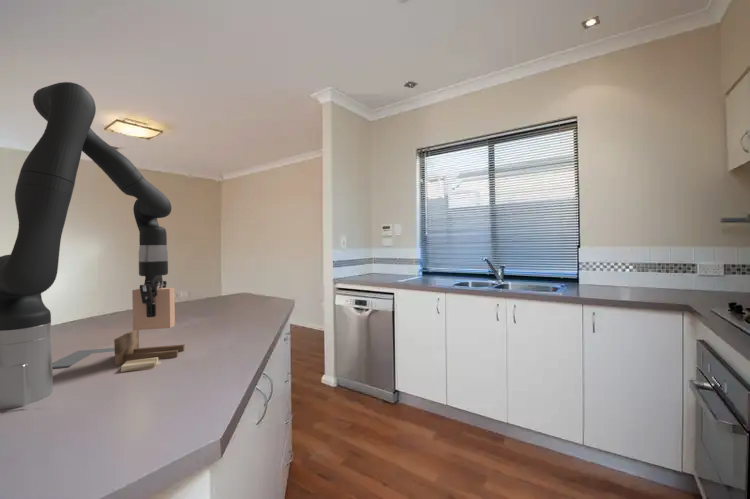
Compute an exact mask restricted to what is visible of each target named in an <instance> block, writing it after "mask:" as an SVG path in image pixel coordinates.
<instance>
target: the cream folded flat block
mask: <svg viewBox="0 0 750 499" xmlns="http://www.w3.org/2000/svg"><path fill="white" fill-rule="evenodd" d="M161 363H162V362H161V361H158V363H157V365H156V366H155V368H156V367H157V366H159V364H161ZM155 368H148V369H147V370H153V369H155ZM142 370H146V369H140V370H139V371H142ZM133 371H135V370H133ZM133 371H132V372H133ZM119 372H121V370H120V371H119ZM121 373H122V372H121Z"/></svg>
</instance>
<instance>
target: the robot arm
mask: <svg viewBox="0 0 750 499" xmlns="http://www.w3.org/2000/svg"><path fill="white" fill-rule="evenodd" d="M34 92H35V93H34V94H33V96H32V103H33V105H34V108H35V111H37V113H38V114H39V115H40V117H42V118H43V119H44V120H45V121H46V125H45V129H44V132H43V134H42V136H41V137H40V138H39V140H38V142H36V144H35V145H34V147H33V148H32V149H31V150H30V152H29V154H28V155H27V157H26V158H25V159H24V162H23V164H22V166H21V169H20V171H19V175H18V178H17V183H16V185H15V186H16V187H15V191H14V200H15V201H14V202H15V207H16V214H17V221H18V229H17V236H16V238H15V241H14V244H13V247H12V250H11V253H10V254H5V255H1V256H0V410H3V409H12V408H13V409H14V408H15V409H14V410H11V412H12V411H16V408H19V411H23V410H25V408H22V407H26V406H29V405H30V404H33V403H36V402H40V401H42V400H44V399H46V398H48V397H50V396H51V395H52V394H53V393H54V378H53V376H54V375H53V369H52V363H53V347H52V346H53V345H52V344H53V343H52V315H51V314H52V313H51V310H50V309H48V307H47V306H46V305H45V303H44V302H43V300H42V294H43V293H44V292H46V291H47V290H49V289H50V288H51V287H52V286H53V284H54V283H55V280H56V278H57V275H58V270H59V260H60V259H59V258H60V249H61V243H62V242H61V240H62V234H63V231H64V226H65V224H66V219H67V215H68V211H69V207H70V204H71V200H72V196H73V192H74V189H75V184H76V178H77V173H78V169H79V165H80V162H81V157H82V152H83V153H84V154H85V155H86V156H87V157H88V158H90V159H91V161H93V163H95V164H96V166H98V167H99V168H100V169H101V170H102V171H103V173H105V175H106V176H107V177H108V178H109V179H110V181H112V182H113V183H114V184H115V185H116V187H117V188H118V189H119V190H120V191H121V192H122V193H123V194H125V195H127V196H130V197H133V198H136V200H135V201H134V204H133V208H132V210H133V215H134V216H133V217H134V219H135V223H136V226H137V228H138V229H137V230H138V232H139V237H138V238H139V240H138V241H139V246H138V275H139V276H140V277H144V284H140V285H139V289H140V292H141V298H142V303H143V304H145V305H146V309H147V317H155V316H156V297H157V296H158V289H159V288H167V281H166V280H163V276H167V275H168V274H169V253H168V251H169V250H168V247H167V246H168V244H167V243H168V242H167V241H168V236H167V230H166V228H165V227H163V226H160V225H159V222H158V219H163V218H166V217H168V216H170V214H171V212H172V204H171V202H170V200H169V198H168V196H166V195H165V194H164V193H163V192H162V191H161V190H159V188H157V187H156V185H153V184H152V183H150V182H149V181H148V180H147V179H146V178H145V177H144V176H143V174H142V172H140V170H139V169H138V168H137V167H136V165H134V163H132V162H131V160H130V159H129V158H128V157H126V156H125V155H124V154H123V153H121V152H120V151H118V150H117V149H116V148H115V147H113V146H111V145H110V144H109V143H107V142H106V141H105V140H104V139H103V138H101V137H100V136H99V135H97V133H96V132H95V131H94V130H93V129H92V128H91V126H92V124H93V122H94V119H95V116H96V112H97V111H96V108H97V107H96V103H95V100H94V97H93V96H92V94H91V93H90V91H89V90H87V89H86V88H85V87H84V86H82V85H80V84H79V83H75V82H72V81H71V82H70V81H69V82H67V81H62V82H57V83H53V84H50V85H47V86H44V87H41V88H39V89H37V90H36V91H34ZM154 292H155V293H154ZM152 293H154V294H152ZM145 297H146V298H145ZM20 408H21V409H20ZM3 412H7V410H6V411H3Z"/></svg>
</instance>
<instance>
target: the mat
mask: <svg viewBox="0 0 750 499" xmlns="http://www.w3.org/2000/svg"><path fill="white" fill-rule="evenodd" d="M111 352H115V347H110V348H108V347H107V348H98V349H97V348H95V349H85V350H84V349H82V350H77V351H75V352H72V353H71V354H68V355H66V356H64V357H62V358H59V359H58V360H56V361H54V362H53V361H52V370H53V369H62V368H63V369H65V368H70V367H71V366H73V365H75V364H77V363H78V362H80V361H82V360H83V359H85V358H87V357H89V356H90V355H92V354H100V353H111Z"/></svg>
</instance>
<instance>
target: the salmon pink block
mask: <svg viewBox="0 0 750 499" xmlns="http://www.w3.org/2000/svg"><path fill="white" fill-rule="evenodd" d="M131 293H132V295H131V296H132V297H131V298H132V330H139V331H143V330H145V331H146V330H147V331H148V330H157V329H158V330H159V329H171V328H173V327H174V326H175V325H176V319H175V318H176V317H175V313H176V310H175V308H176V307H175V300H176V299H175V287H166V288H159V289H158V296H157V297H156V316H155V317H147V309H146V305H145V304H143V303H142V298H141V292H140V288H137V289H133V290H132V292H131ZM154 293H155V292H154ZM154 293H152V294H154ZM145 298H146V297H145Z"/></svg>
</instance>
